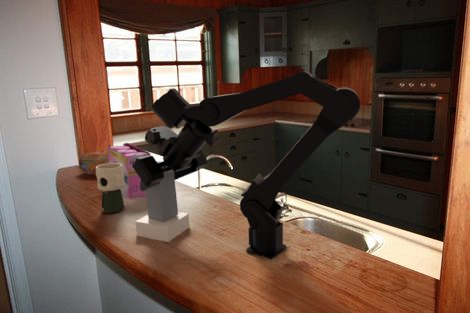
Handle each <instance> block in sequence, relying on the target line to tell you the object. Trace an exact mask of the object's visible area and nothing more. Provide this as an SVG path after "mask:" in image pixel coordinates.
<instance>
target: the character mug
mask: <svg viewBox="0 0 470 313" xmlns="http://www.w3.org/2000/svg"><path fill="white" fill-rule="evenodd" d="M95 176H96V180H97V185H96V186H97V189H98V191H102V193H101V210H103V212H104V213H107V214H108V213H116V212H118V211H120V210H123V209H125V207H126V206H125V201H124V197H123V193H122V192H121V190H120V189H121V188H122V187H124V175H123V165H122V164H120V163H107V164H101V165H98V166H96V175H95Z"/></svg>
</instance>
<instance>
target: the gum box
mask: <svg viewBox="0 0 470 313" xmlns="http://www.w3.org/2000/svg"><path fill="white" fill-rule="evenodd" d="M107 153H108V158H109V163H120V164H122V165H123V175H124V187H122V188H121V189H120V190H121V192H122V194H123V195H125V196H126V197H127V198H128V199H129V200H131V199H137V198H143V197H146V194H145V191H141V189H140V181H141V179H140V177H139V176H138V174H137V173H136V171H135V170H134V168H133V167H132V164H133V162H134V161H135V159H136V158H139V157H143V156H147V155H150V156H152V155H151V153H150V152H149V151H148V150H147V151H146V150H144V149H142V148H140V147H137V146H135V145H133V144H131V143H129V142H124V143H123V145H113V146H111V145H110V144H108V145H107Z"/></svg>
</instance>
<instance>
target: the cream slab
mask: <svg viewBox="0 0 470 313" xmlns="http://www.w3.org/2000/svg"><path fill="white" fill-rule="evenodd" d="M189 228H190V214H189V213H187V212H182V211H178V215H177V216H175V217H173V218H171V219H169V220H167V221H165V222H160V221H156V220H153V219H150V218H148V214H146V215H144V216H142V217H141V218H139V219H137V220H135V232H136V236H137V237H141V238H147V239H152V240H155V241H156V240H157V241H161V242H164V243H165V242H166V243H169V242H171V241H172V240H173V239H175V238H176V237H177V236H179V235H180V234H182V233H184V232H185V231H187V230H188V229H189Z"/></svg>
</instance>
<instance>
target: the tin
mask: <svg viewBox="0 0 470 313" xmlns="http://www.w3.org/2000/svg"><path fill="white" fill-rule="evenodd" d="M78 163H79V164H78V166H79V168H80V170H81V171H82V172H83V173H84V174H86V175H94V176H96V166H98V165H101V164H107V163H109V158H108V152H85V153H82V155H81V156H80V158H79V160H78Z"/></svg>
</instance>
